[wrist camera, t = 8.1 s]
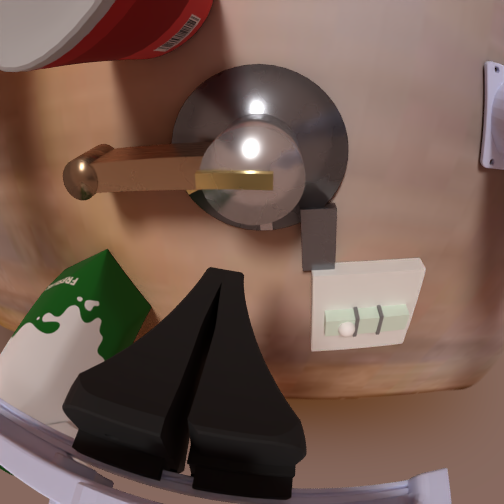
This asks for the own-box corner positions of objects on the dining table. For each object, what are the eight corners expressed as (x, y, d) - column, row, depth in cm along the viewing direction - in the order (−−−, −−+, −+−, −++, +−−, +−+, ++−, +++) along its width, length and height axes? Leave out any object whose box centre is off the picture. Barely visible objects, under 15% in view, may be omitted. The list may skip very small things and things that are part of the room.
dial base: (341, 60, 14) (345, 59, 13) (343, 262, 22) (345, 271, 21) (160, 80, 16) (154, 82, 15) (202, 268, 24) (199, 277, 23)
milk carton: (108, 236, 23) (-25, 455, 7) (165, 312, 27) (96, 517, 11) (55, 264, 26) (-49, 426, 9) (106, 326, 30) (37, 485, 14)
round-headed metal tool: (301, 114, 16) (309, 130, 12) (297, 192, 19) (302, 231, 15) (88, 127, 17) (45, 149, 13) (100, 192, 20) (65, 225, 16)
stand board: (419, 257, 21) (434, 286, 18) (398, 331, 26) (407, 359, 23) (311, 264, 23) (314, 295, 20) (310, 339, 28) (311, 368, 25)
